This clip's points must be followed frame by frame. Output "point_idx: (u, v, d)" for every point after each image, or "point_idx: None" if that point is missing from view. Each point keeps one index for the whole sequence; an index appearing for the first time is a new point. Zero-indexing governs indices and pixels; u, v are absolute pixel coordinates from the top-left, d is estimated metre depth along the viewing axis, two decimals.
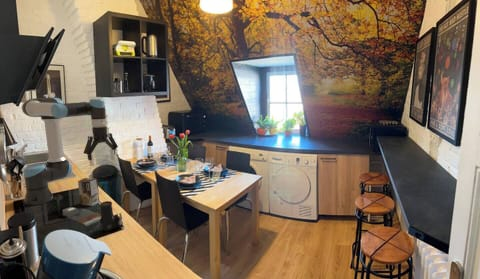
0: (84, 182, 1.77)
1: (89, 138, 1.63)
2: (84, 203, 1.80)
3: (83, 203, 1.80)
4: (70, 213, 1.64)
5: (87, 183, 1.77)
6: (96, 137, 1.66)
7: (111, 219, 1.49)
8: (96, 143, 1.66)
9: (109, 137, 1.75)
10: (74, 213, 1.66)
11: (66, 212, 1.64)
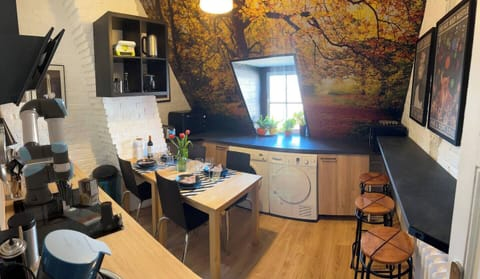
0: (84, 182, 1.77)
1: None
2: (84, 203, 1.80)
3: (83, 203, 1.80)
4: (71, 213, 1.63)
5: (87, 183, 1.77)
6: (58, 180, 1.65)
7: (111, 219, 1.49)
8: (60, 188, 1.65)
9: None
10: (75, 213, 1.65)
11: (67, 212, 1.64)
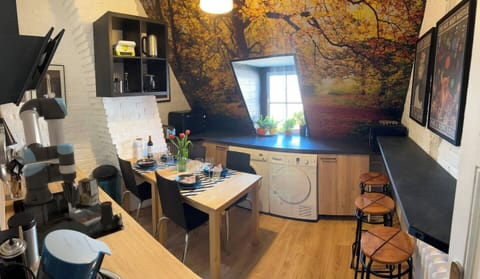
0: (84, 182, 1.77)
1: None
2: (84, 203, 1.80)
3: (83, 203, 1.80)
4: (77, 215, 1.61)
5: (87, 183, 1.77)
6: (64, 182, 1.63)
7: (111, 219, 1.49)
8: (65, 190, 1.63)
9: None
10: (81, 215, 1.63)
11: (73, 214, 1.61)
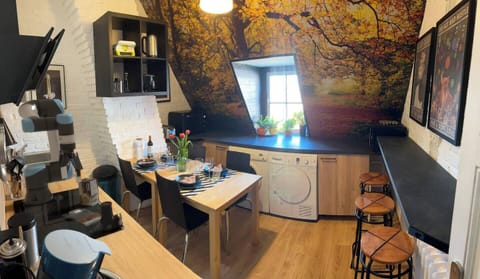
0: (84, 182, 1.77)
1: None
2: (84, 203, 1.80)
3: (83, 203, 1.80)
4: (77, 215, 1.61)
5: (87, 183, 1.77)
6: (63, 152, 1.63)
7: (111, 219, 1.49)
8: (62, 158, 1.64)
9: None
10: (81, 215, 1.63)
11: (73, 214, 1.61)
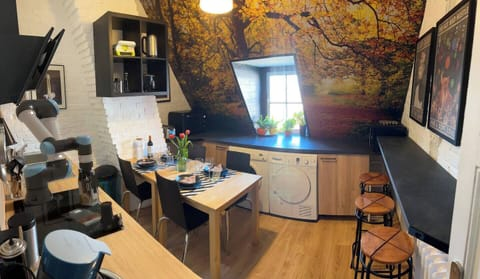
0: (84, 182, 1.77)
1: None
2: (84, 203, 1.80)
3: (83, 203, 1.80)
4: (77, 215, 1.61)
5: (87, 183, 1.77)
6: (81, 170, 1.80)
7: (111, 219, 1.49)
8: (81, 176, 1.80)
9: None
10: (81, 215, 1.63)
11: (73, 214, 1.61)
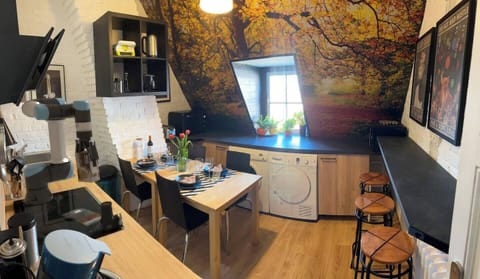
0: (82, 154, 1.55)
1: None
2: (82, 178, 1.57)
3: (81, 178, 1.58)
4: (77, 215, 1.61)
5: (85, 155, 1.54)
6: (79, 140, 1.57)
7: (111, 219, 1.49)
8: (79, 147, 1.58)
9: None
10: (81, 215, 1.63)
11: (73, 214, 1.61)
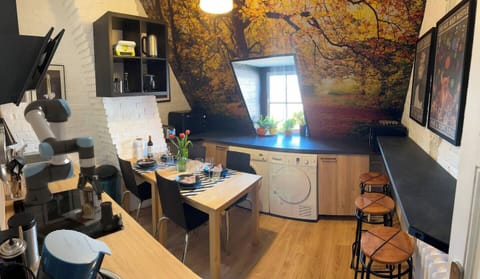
0: (86, 191, 1.59)
1: None
2: (86, 214, 1.61)
3: (85, 214, 1.61)
4: (77, 215, 1.61)
5: (89, 192, 1.58)
6: (83, 175, 1.61)
7: (111, 219, 1.49)
8: (82, 181, 1.61)
9: None
10: (81, 215, 1.63)
11: (73, 214, 1.61)
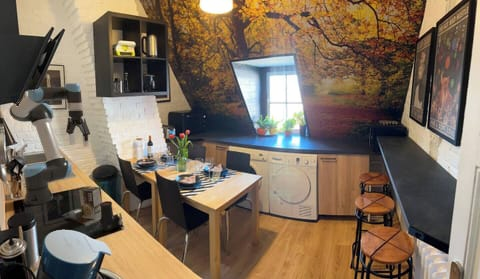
0: (86, 191, 1.58)
1: None
2: (86, 215, 1.61)
3: (85, 215, 1.61)
4: (77, 215, 1.61)
5: (89, 193, 1.58)
6: (71, 119, 1.77)
7: (111, 219, 1.49)
8: (70, 125, 1.77)
9: None
10: (81, 215, 1.63)
11: (73, 214, 1.61)
